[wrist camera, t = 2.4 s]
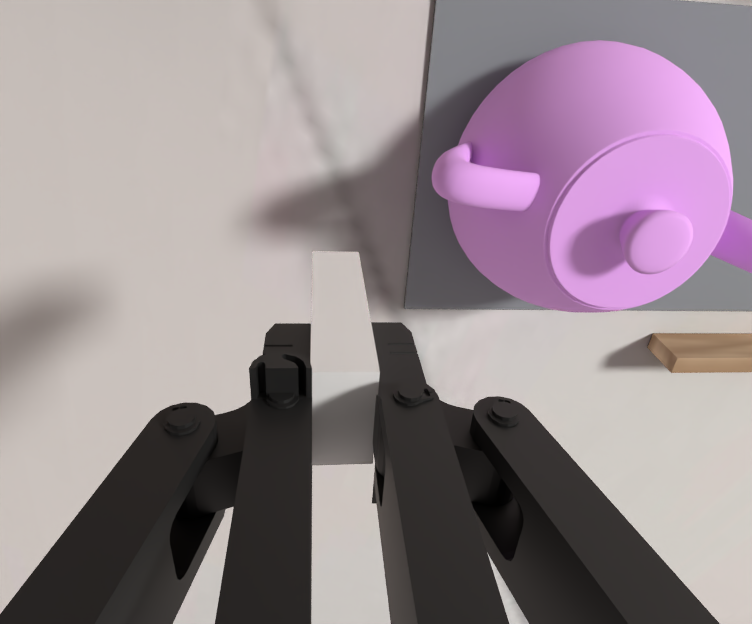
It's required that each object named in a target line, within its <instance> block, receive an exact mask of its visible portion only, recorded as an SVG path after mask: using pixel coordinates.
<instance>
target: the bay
mask: <svg viewBox="0 0 752 624" xmlns="http://www.w3.org/2000/svg"><path fill="white" fill-rule="evenodd" d="M647 348H648V349H649V350H650V351H651V352H652V353H653V354H654V355H655V356H656V357H657V358H658V359H659V360H660V361H661V362H662V363H663V364H664V366H665V367H666V368H667V369H668V370H669V371H670V372H671V373H698V372H752V334H673V333H653V334H652V337H651V340H650V342H649V345H648V347H647Z"/></svg>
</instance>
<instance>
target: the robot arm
mask: <svg viewBox="0 0 752 624" xmlns="http://www.w3.org/2000/svg"><path fill="white" fill-rule="evenodd" d="M249 373H250V388H251V401H250V402H248V403H247V404H246V405H244V406H242V407H241V408H239V409H236V410H233V411H230V412H227V413H223V414H218V415H214V412H213V411H212V410H211V409H210V408H208V407H207V406H205V405H202V404H198V403H181V404H176V405H172V406H170V407H167V408H165V409H163V410H161V411H160V412H159V413H157V414H156V415H155V416H154V417H153V418H152V419H151V420H150V421H149V423H148V424H147V425H146V427H145V428H144V429H143V431H142V432H141V433H140V434H139V436H138V437H137V438H136V440H135V441H134V442H133V443H132V445H131V446H130V447H129V449H128V450H127V451H126V453H125V454H124V455H123V456H122V458H121V459H120V460H119V462H118V463H117V464H116V465H115V467H114V468H113V469H112V471H111V472H110V473H109V474H108V476H107V477H106V478H105V480H104V481H103V482H102V484H101V485H100V486H99V487H98V489H97V490H96V491H95V493H94V494H93V495H92V496H91V498H90V499H89V500H88V502H87V503H86V504H85V505H84V507H83V508H82V509H81V511H80V512H79V513H78V515H77V516H76V517H75V518H74V520H73V521H72V522H71V524H70V525H69V526H68V527H67V529H66V530H65V531H64V533H63V534H62V535H61V536H60V538H59V539H58V540H57V542H56V543H55V544H54V546H53V547H52V548H51V549H50V551H49V552H48V553H47V555H46V556H45V557H44V558H43V560H42V561H41V562H40V564H39V565H38V566H37V567H36V569H35V570H34V571H33V573H32V574H31V575H30V577H29V578H28V579H27V580H26V582H25V583H24V584H23V586H22V587H21V588H20V589H19V591H18V592H17V593H16V595H15V596H14V597H13V598H12V600H11V601H10V602H9V604H8V605H7V606H6V608H5V609H4V610H3V611H2V613H1V614H0V624H173V621H174V619H175V617H176V615H177V613H178V611H179V609H180V607H181V605H182V603H183V600H184V598H185V596H186V594H187V592H188V590H189V588H190V586H191V584H192V582H193V580H194V577H195V575H196V573H197V571H198V569H199V567H200V565H201V563H202V561H203V559H204V556H205V554H206V552H207V550H208V548H209V546H210V544H211V542H212V540H213V538H214V535H215V533H216V531H217V529H218V527H219V525H220V523H221V521H222V519H223V517H224V513H225V509H227V508H230V507H233V506H234V509H233V515H232V522H231V528H230V534H229V540H228V546H227V552H226V559H225V565H224V571H223V577H222V583H221V590H220V596H219V602H218V608H217V614H216V620H215V624H311V563H312V465H339V464H373V453H374V458H375V473H374V485H373V498H372V503H377V511H378V519H379V528H380V536H381V544H382V553H383V561H384V570H385V578H386V586H387V595H388V603H389V611H390V620H391V624H509V621H508V618H507V615H506V612H505V609H504V605H503V602H502V599H501V596H500V593H499V589H498V586H497V583H496V580H495V577H494V573H493V570H492V567H491V564H490V561H489V557H488V554H489V556H490V558H491V559H492V561H493V563H494V564H495V566H496V568H497V570H498V571H499V573H500V575H501V576H502V578H503V580H504V581H505V583H506V585H507V587H508V588H509V590H510V592H511V593H512V595H513V597H514V598H515V600H516V602H517V604H518V605H519V607H520V609H521V610H522V612H523V614H524V615H525V617H526V619H527V621H528V622H529V624H719V623H718V621H717V620H716V619H715V618H714V617H713V616H712V615H711V614H710V612H709V611H708V610H707V609H706V608H705V607H704V606H703V605H702V603H701V602H700V601H699V600H698V599H697V598H696V597H695V596H694V594H693V593H692V592H691V591H690V590H689V589H688V588H687V587H686V586H685V584H684V583H683V582H682V581H681V580H680V579H679V578H678V577H677V575H676V574H675V573H674V572H673V571H672V570H671V569H670V568H669V566H668V565H667V564H666V563H665V562H664V561H663V560H662V559H661V558H660V556H659V555H658V554H657V553H656V552H655V551H654V550H653V549H652V547H651V546H650V545H649V544H648V543H647V542H646V541H645V540H644V538H643V537H642V536H641V535H640V534H639V533H638V532H637V531H636V529H635V528H634V527H633V526H632V525H631V524H630V523H629V522H628V521H627V519H626V518H625V517H624V516H623V515H622V514H621V513H620V512H619V510H618V509H617V508H616V507H615V506H614V505H613V504H612V503H611V501H610V500H609V499H608V498H607V497H606V496H605V495H604V494H603V493H602V491H601V490H600V489H599V488H598V487H597V486H596V485H595V484H594V482H593V481H592V480H591V479H590V478H589V477H588V476H587V475H586V473H585V472H584V471H583V470H582V469H581V468H580V467H579V466H578V464H577V463H576V462H575V461H574V460H573V459H572V458H571V457H570V456H569V454H568V453H567V452H566V451H565V450H564V449H563V448H562V447H561V445H560V444H559V443H558V442H557V441H556V440H555V439H554V438H553V436H552V435H551V434H550V433H549V432H548V431H547V430H546V429H545V428H544V426H543V425H542V424H541V423H540V422H539V421H538V420H537V419H536V417H535V416H534V415H533V414H532V413H531V412H530V411H529V410H528V409H527V408H526V407H524V406H523V405H522V404H521V403H519V402H516V401H514V400H512V399H509V398H504V397H487V398H484V399H481V400H479V401H478V402H477V403H476V404H475V406H474V410H470V409H465V408H460V407H456V406H452V405H449V404H447V403H445V402H442V401H440V400H439V397H438V395H437V393H436V392H435V390H434V389H433V388H431V387H430V386H429V385H427V384H426V380H425V377H424V374H423V370H422V367H421V363H420V360H419V357H418V354H417V350H416V347H415V345H414V340H413V336H412V333H411V331H410V330H408V329H407V328H406V327H405V326H404V325H403V324H402V323H375V322H371V318H370V313H369V307H368V301H367V296H366V290H365V284H364V279H363V273H362V267H361V262H360V256H359V252H340V251H312V293H311V324H274V325H273V326H272V328H271V329H270V330H269V331H268V332H267V333H266V337H265V343H264V350H263V355H262V356H260V357H258V358H257V359H256V360H254V361H253V362H252V364H251V366H250V368H249ZM487 552H488V554H487Z"/></svg>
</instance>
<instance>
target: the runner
mask: <svg viewBox="0 0 752 624" xmlns="http://www.w3.org/2000/svg"><path fill="white" fill-rule="evenodd" d="M596 40H602V41H615V42H621V43H625V44H629V45H633V46H637V47H641V48H645V49H647V50H649V51H651V52H654V53H656V54H658V55H660V56H662V57H664V58H665V59H667V60H669V61H670V62H671V63H673V64H674V65H676V66H677V67H679V68H680V69H682V70H683V71H684V72H685V73H686V74H688V75H689V76H690V77H691V78H692V79H693V80H694V81H695V82H696V83H697V84H698V85H699V86H700V87H701V88H702V90H703V91H704V93H705V94H706V95H707V97H708V98H709V100H710V101H711V103H712V104H713V106H714V107H715V109H716V111H717V113H718V115H719V117H720V119H721V121H722V124H723V127H724V130H725V134H726V137H727V141H728V144H729V149H730V156H731V164H732V173H733V196H732V204H731V210H732V211H734V212H736V213H738V214H740V215H742V216H745V217H747V218H749V219H751V220H752V6H744V5H731V4H718V3H705V2H692V1H680V0H436V2H435V12H434V21H433V31H432V41H431V51H430V60H429V70H428V80H427V90H426V100H425V109H424V119H423V129H422V139H421V149H420V158H419V168H418V178H417V188H416V197H415V207H414V217H413V227H412V237H411V246H410V256H409V266H408V276H407V286H406V295H405V305H404V308H405V309H518V310H553V309H548V308H544V307H540V306H537V305H534V304H531V303H528V302H525V301H523V300H521V299H519V298H516V297H514V296H512V295H511V294H509V293H507V292H506V291H504V290H503V289H501V288H499V287H498V286H496V285H495V284H494V283H492V282H491V281H490V280H489V279H488V278H486V277H485V276H484V275H483V274H482V273H480V272H479V271H478V269H477V268H476V267H475V266H474V265H473V264H472V262H471V261H470V260H469V258H468V257H467V256H466V254H465V252H464V251H463V249H462V248H461V246H460V244H459V242H458V240H457V238H456V235H455V233H454V230H453V227H452V223H451V219H450V214H449V206H448V200H447V199H445V198H443V197H441V196H440V195H439V194H438V193H437V192H436V191H435V189H434V187H433V185H432V171H433V168H434V165H435V162H436V161H437V159H438V158H439V157H440V156H441V155H442V154H443V153H444V152H446V151H448V150H450V149H451V148H454V147H456V146H458V144H459V141H460V139H461V136H462V134H463V132H464V130H465V128H466V126H467V124H468V123H469V121H470V119H471V117H472V115H473V114H474V113H475V111H476V110H477V108H478V107H479V106H480V104H481V103H482V102H483V100H484V99H485V98H486V97H487V96H488V95H489V93H490V92H491V91H492V90H493V89H494V88H495V87H496V86H497V85H498V84H499V83H500V82H501V81H502V80H503V79H505V78H506V77H507V76H508V75H509V74H510V73H511V72H513V71H514V70H516V69H517V68H519V67H520V66H522V65H523V64H524V63H526V62H527V61H529V60H531V59H533V58H535V57H537V56H539V55H541V54H543V53H545V52H547V51H550V50H553V49H555V48H558V47H561V46H564V45H568V44H573V43H577V42H583V41H596ZM623 310H667V311H752V273H750V272H747V271H745V270H743V269H741V268H738V267H736V266H734V265H732V264H730V263H727V262H725V261H723V260H721V259H718V258H716V257H714V256H712V255H710V256H709V257H708V259H707V260H706V261H705V262H704V263H703V265H702V266H701V267H700V268H699V269H698V270H697V271H696V272H695V273H694V274H693V275H692V276H691V277H690V278H689V279H688V280H686V281H685V282H684V283H683V284H681V285H680V286H679V287H677V288H676V289H674V290H673V291H671V292H670V293H668V294H666V295H664V296H663V297H661V298H659V299H656V300H654V301H652V302H650V303H647V304H644V305H641V306H637V307H633V308H628V309H623Z"/></svg>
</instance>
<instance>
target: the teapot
mask: <svg viewBox="0 0 752 624" xmlns="http://www.w3.org/2000/svg"><path fill="white" fill-rule="evenodd" d="M432 185H433V187H434V189H435V191H436V192H437V193H438V194H439V195H440V196H441V197H443V198H445V199H447V200H448V206H449V214H450V219H451V223H452V227H453V230H454V233H455V235H456V238H457V240H458V242H459V244H460V246H461V248H462V249H463V251H464V252H465V254H466V256H467V257H468V258H469V260H470V261H471V262H472V264H473V265H474V266H475V267H476V268H477V269H478V271H479V272H480V273H482V274H483V275H484V276H485V277H486V278H488V279H489V280H490V281H491V282H492V283H494V284H495V285H496V286H498V287H499V288H501V289H503V290H504V291H506V292H507V293H509V294H511V295H512V296H514V297H516V298H519V299H521V300H523V301H525V302H528V303H531V304H534V305H537V306H540V307H544V308H548V309H553V310H560V311H568V312H610V311H619V310H623V309H628V308H633V307H637V306H641V305H644V304H647V303H650V302H652V301H654V300H656V299H659V298H661V297H663V296H664V295H666V294H668V293H670V292H671V291H673V290H674V289H676V288H677V287H679V286H680V285H681V284H683V283H684V282H685V281H686V280H688V279H689V278H690V277H691V276H692V275H693V274H694V273H695V272H696V271H697V270H698V269H699V268H700V267H701V266H702V265H703V263H704V262H705V261H706V260H707V259H708V257H709V256H710V255H712V256H714V257H716V258H718V259H721V260H723V261H725V262H727V263H730V264H732V265H734V266H736V267H738V268H741V269H743V270H745V271H747V272H750V273H752V220H751V219H749V218H747V217H745V216H742V215H740V214H738V213H736V212H734V211H732V210H731V204H732V196H733V173H732V164H731V156H730V149H729V144H728V141H727V137H726V134H725V130H724V127H723V124H722V121H721V119H720V117H719V115H718V113H717V111H716V109H715V107H714V106H713V104H712V103H711V101H710V100H709V98H708V97H707V95H706V94H705V93H704V91H703V90H702V88H701V87H700V86H699V85H698V84H697V83H696V82H695V81H694V80H693V79H692V78H691V77H690V76H689V75H688V74H686V73H685V72H684V71H683V70H682V69H680V68H679V67H677V66H676V65H674V64H673V63H671V62H670V61H669V60H667V59H665V58H664V57H662V56H660V55H658V54H656V53H654V52H651V51H649V50H647V49H645V48H641V47H637V46H633V45H629V44H625V43H621V42H615V41H602V40H596V41H583V42H577V43H573V44H568V45H564V46H561V47H558V48H555V49H553V50H550V51H547V52H545V53H543V54H541V55H539V56H537V57H535V58H533V59H531V60H529V61H527V62H526V63H524V64H523V65H522V66H520V67H519V68H517V69H516V70H514V71H513V72H511V73H510V74H509V75H508V76H507V77H506V78H505V79H503V80H502V81H501V82H500V83H499V84H498V85H497V86H496V87H495V88H494V89H493V90H492V91H491V92H490V93H489V95H488V96H487V97H486V98H485V99H484V100H483V102H482V103H481V104H480V106H479V107H478V108H477V110H476V111H475V113H474V114H473V115H472V117H471V119H470V121H469V123H468V124H467V126H466V128H465V130H464V132H463V134H462V136H461V139H460V141H459V144H458V146H456V147H454V148H451V149H450V150H448V151H446V152H444V153H443V154H442V155H441V156H440V157H439V158H438V159H437V161H436V162H435V165H434V168H433V171H432Z"/></svg>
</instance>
